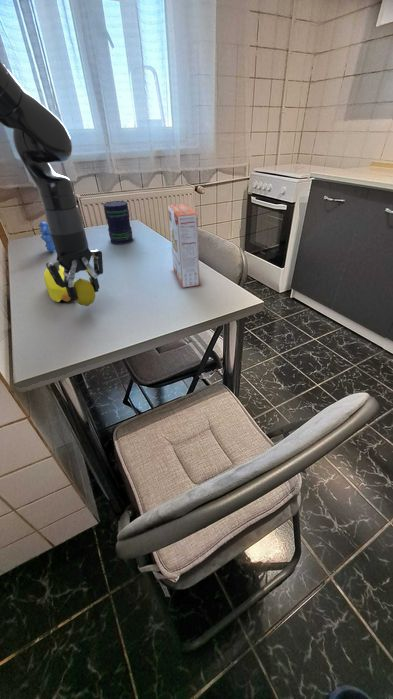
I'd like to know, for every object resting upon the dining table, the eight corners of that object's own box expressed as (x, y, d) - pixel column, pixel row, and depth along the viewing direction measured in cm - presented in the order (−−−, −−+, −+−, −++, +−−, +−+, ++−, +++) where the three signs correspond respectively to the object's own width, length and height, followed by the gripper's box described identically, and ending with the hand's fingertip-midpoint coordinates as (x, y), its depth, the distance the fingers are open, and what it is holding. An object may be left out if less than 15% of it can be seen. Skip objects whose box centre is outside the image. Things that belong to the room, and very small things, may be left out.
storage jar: (137, 238, 131) (132, 201, 122) (125, 245, 124) (118, 206, 115) (118, 236, 134) (112, 200, 125) (105, 243, 127) (97, 205, 118)
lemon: (94, 311, 78) (87, 282, 73) (74, 311, 78) (65, 283, 73) (100, 301, 82) (93, 274, 78) (81, 301, 83) (73, 274, 78)
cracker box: (172, 271, 100) (167, 204, 87) (189, 269, 101) (186, 202, 88) (180, 288, 89) (176, 214, 76) (200, 286, 90) (198, 212, 77)
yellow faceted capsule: (70, 279, 97) (45, 284, 94) (64, 259, 92) (37, 264, 89) (83, 301, 84) (54, 308, 81) (76, 279, 80) (46, 285, 77)
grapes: (64, 254, 116) (54, 222, 109) (46, 257, 114) (35, 224, 107) (62, 246, 125) (53, 215, 118) (45, 248, 123) (35, 217, 116)
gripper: (86, 220, 74) (101, 282, 84) (28, 232, 66) (52, 300, 76) (102, 224, 70) (116, 290, 80) (43, 238, 62) (66, 309, 72)
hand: (85, 294), depth 78 cm, fingers closed on lemon, 5 cm apart
